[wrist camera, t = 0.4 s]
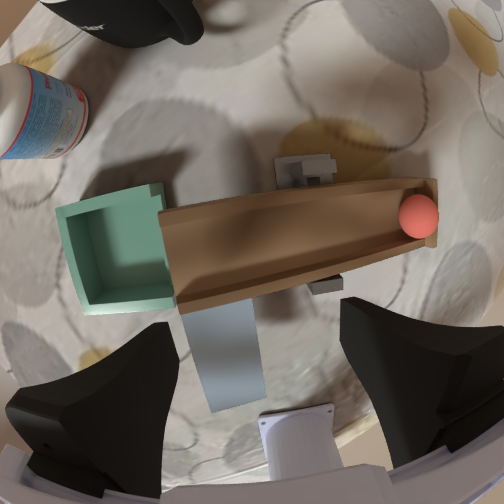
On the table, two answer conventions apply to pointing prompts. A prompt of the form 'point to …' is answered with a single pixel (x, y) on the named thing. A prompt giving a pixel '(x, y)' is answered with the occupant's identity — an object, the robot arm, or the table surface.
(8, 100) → the pill bottle
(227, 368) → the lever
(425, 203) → the ball
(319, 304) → the table surface
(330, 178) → the stand
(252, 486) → the robot arm
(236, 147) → the table surface
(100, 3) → the mug
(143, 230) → the dish
